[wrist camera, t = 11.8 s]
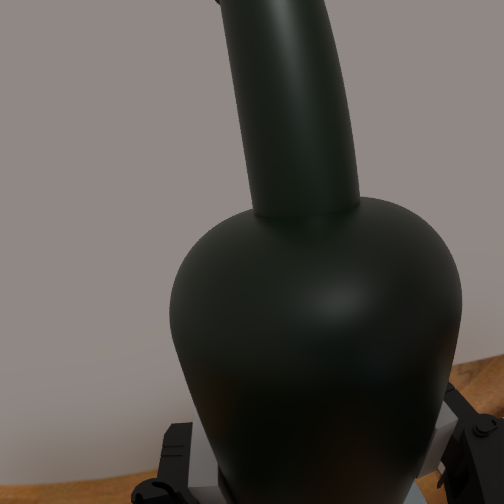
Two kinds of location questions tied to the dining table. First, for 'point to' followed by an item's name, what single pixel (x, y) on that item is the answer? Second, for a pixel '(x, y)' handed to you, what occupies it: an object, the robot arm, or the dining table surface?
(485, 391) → the dining table surface
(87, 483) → the dining table surface
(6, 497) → the dining table surface
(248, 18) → the wine bottle
